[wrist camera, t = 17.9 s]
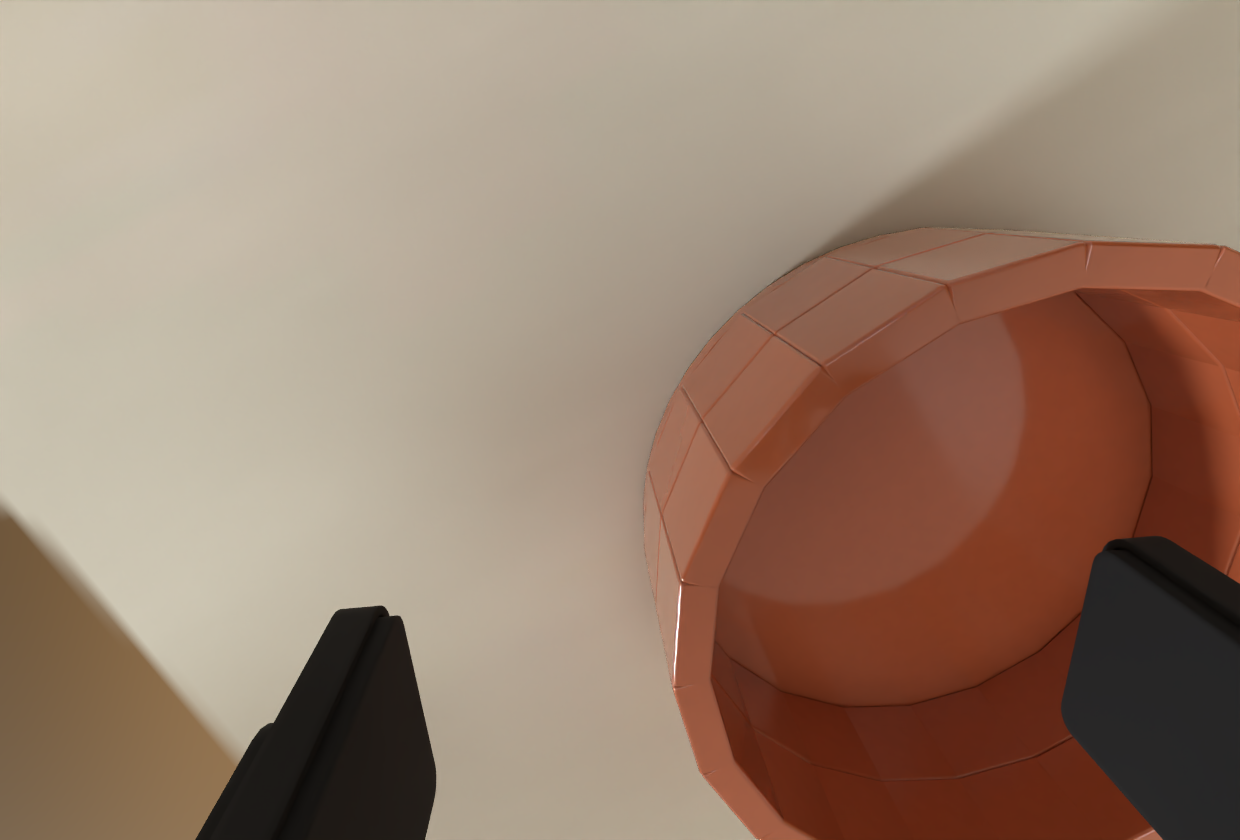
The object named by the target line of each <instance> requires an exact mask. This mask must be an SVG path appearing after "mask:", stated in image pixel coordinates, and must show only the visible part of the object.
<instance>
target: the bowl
mask: <svg viewBox="0 0 1240 840" xmlns="http://www.w3.org/2000/svg"><path fill="white" fill-rule="evenodd" d="M643 513H644V534H645V537H644V549H645V556H646V561H647V566H648V571H649V576H650V581H651V586H652V591H653V595H654V600H655V605H656V609H657V615H658V620H659V625H660V630H661V635H662V640H663V645H664V650H665V654H666V659H667V664H668V669H669V674H670V679H671V684H672V689H673V692H674V695H675V698H676V701H677V704H678V707H679V710H680V713H681V716H682V719H683V723H684V726H685V729H686V732H687V735H688V738H689V741H690V744H691V747H692V750H693V753H694V756H695V759H696V763H697V766H698V769H699V771H700V773H701V774H702V776H703V777H704V778H705V779H706V781H707V782H708V783H709V784H710V785H711V786H712V788H713V789H714V790H715V791H716V792H717V793H718V795H719V796H720V797H721V798H722V799H723V800H724V802H725V803H726V804H727V805H728V806H729V808H730V809H731V810H732V811H733V812H734V813H735V815H736V816H737V817H738V818H739V819H740V820H741V822H742V823H743V824H744V825H745V826H746V827H747V829H748V830H749V831H750V832H751V833H752V834H753V836H754V837H755V838H756V839H759V840H1163V839H1162V838H1161V837H1160V836H1159V835H1158V833H1157V832H1156V831H1155V830H1154V829H1153V828H1152V827H1151V825H1150V824H1149V823H1148V822H1147V821H1146V820H1145V819H1144V817H1143V816H1142V815H1141V814H1140V813H1139V812H1138V811H1137V809H1136V808H1135V807H1134V806H1133V805H1132V804H1131V803H1130V801H1129V800H1128V799H1127V798H1126V797H1125V796H1124V794H1123V793H1122V792H1121V791H1120V790H1119V789H1118V788H1117V786H1116V785H1115V784H1114V783H1113V782H1112V781H1111V780H1110V778H1109V777H1108V776H1107V775H1106V774H1105V773H1104V772H1103V770H1102V769H1101V768H1100V767H1099V766H1098V765H1097V764H1096V762H1095V761H1094V760H1093V759H1092V758H1091V757H1090V756H1089V754H1088V753H1087V752H1086V751H1085V750H1084V749H1083V748H1082V746H1081V745H1080V744H1079V743H1078V742H1077V741H1076V739H1075V738H1074V737H1073V736H1072V735H1071V733H1070V732H1069V731H1068V729H1067V727H1066V725H1065V723H1064V720H1063V717H1062V713H1061V702H1062V697H1063V693H1064V688H1065V684H1066V680H1067V675H1068V671H1069V666H1070V662H1071V657H1072V653H1073V648H1074V644H1075V639H1076V635H1077V630H1078V626H1079V621H1080V617H1081V613H1082V608H1083V604H1084V599H1085V595H1086V590H1087V586H1088V581H1089V577H1090V572H1091V568H1092V563H1093V560H1094V558H1095V556H1096V555H1097V554H1098V553H1100V552H1102V550H1103V548H1104V546H1105V545H1106V544H1107V543H1108V542H1109V541H1112V540H1115V539H1123V538H1134V537H1145V536H1162V537H1164V538H1167V539H1169V540H1171V541H1172V542H1174V543H1176V544H1177V545H1179V546H1180V547H1182V548H1184V549H1185V550H1187V551H1188V552H1190V553H1192V554H1193V555H1195V556H1196V557H1198V558H1200V559H1201V560H1203V561H1204V562H1206V563H1208V564H1209V565H1211V566H1212V567H1214V568H1216V569H1217V570H1219V571H1220V572H1222V573H1224V574H1225V575H1227V576H1228V577H1230V578H1232V579H1233V580H1235V581H1236V582H1238V583H1240V252H1238V251H1236V250H1234V249H1231V248H1229V247H1227V246H1221V245H1216V244H1207V243H1193V242H1178V241H1164V240H1150V239H1135V238H1121V237H1107V236H1092V235H1078V234H1063V233H1049V232H1035V231H1020V230H999V229H968V228H956V227H951V228H938V227H925V228H916V229H912V230H906V231H901V232H895V233H889V234H884V235H878V236H874V237H871V238H868V239H865V240H862V241H859V242H855V243H852V244H849V245H846V246H843V247H840V248H837V249H835V250H833V251H831V252H829V253H827V254H824V255H822V256H820V257H818V258H816V259H813V260H811V261H809V262H807V263H805V264H803V265H801V266H800V267H798V268H796V269H795V270H793V271H791V272H790V273H788V274H787V275H785V276H783V277H782V278H780V279H779V280H777V281H775V282H774V283H772V284H771V285H769V286H768V287H766V288H765V289H764V290H763V291H761V292H760V293H759V294H758V295H757V296H755V297H754V298H753V299H752V300H750V301H749V302H748V303H747V304H745V305H744V306H743V307H742V308H740V309H739V310H738V311H737V312H736V313H735V314H734V315H733V316H732V317H731V318H730V319H729V320H728V321H727V322H726V323H725V324H724V325H723V326H722V327H721V328H720V329H719V331H718V332H717V333H716V334H715V335H714V336H713V337H712V338H711V339H710V340H709V341H708V343H707V344H706V345H705V347H704V348H703V349H702V351H701V352H700V353H699V355H698V356H697V357H696V359H695V360H694V361H693V363H692V364H691V365H690V367H689V368H688V369H687V371H686V373H685V375H684V376H683V378H682V380H681V382H680V383H679V385H678V387H677V389H676V390H675V392H674V394H673V396H672V397H671V399H670V401H669V403H668V406H667V408H666V410H665V413H664V415H663V418H662V420H661V423H660V425H659V427H658V430H657V432H656V435H655V439H654V443H653V447H652V450H651V454H650V458H649V462H648V466H647V472H646V480H645V489H644V497H643Z"/></svg>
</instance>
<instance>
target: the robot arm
mask: <svg viewBox="0 0 1240 840" xmlns="http://www.w3.org/2000/svg"><path fill="white" fill-rule="evenodd" d="M1061 713H1062V717H1063V720H1064V723H1065V725H1066V727H1067V729H1068V731H1069V732H1070V733H1071V735H1072V736H1073V737H1074V738H1075V739H1076V741H1077V742H1078V743H1079V744H1080V745H1081V746H1082V748H1083V749H1084V750H1085V751H1086V752H1087V753H1088V754H1089V756H1090V757H1091V758H1092V759H1093V760H1094V761H1095V762H1096V764H1097V765H1098V766H1099V767H1100V768H1101V769H1102V770H1103V772H1104V773H1105V774H1106V775H1107V776H1108V777H1109V778H1110V780H1111V781H1112V782H1113V783H1114V784H1115V785H1116V786H1117V788H1118V789H1119V790H1120V791H1121V792H1122V793H1123V794H1124V796H1125V797H1126V798H1127V799H1128V800H1129V801H1130V803H1131V804H1132V805H1133V806H1134V807H1135V808H1136V809H1137V811H1138V812H1139V813H1140V814H1141V815H1142V816H1143V817H1144V819H1145V820H1146V821H1147V822H1148V823H1149V824H1150V825H1151V827H1152V828H1153V829H1154V830H1155V831H1156V832H1157V833H1158V835H1159V836H1160V837H1161V838H1162V839H1163V840H1240V583H1238V582H1236V581H1235V580H1233V579H1232V578H1230V577H1228V576H1227V575H1225V574H1224V573H1222V572H1220V571H1219V570H1217V569H1216V568H1214V567H1212V566H1211V565H1209V564H1208V563H1206V562H1204V561H1203V560H1201V559H1200V558H1198V557H1196V556H1195V555H1193V554H1192V553H1190V552H1188V551H1187V550H1185V549H1184V548H1182V547H1180V546H1179V545H1177V544H1176V543H1174V542H1172V541H1171V540H1169V539H1167V538H1164V537H1162V536H1145V537H1134V538H1123V539H1115V540H1112V541H1109V542H1108V543H1107V544H1106V545H1105V546H1104V548H1103V550H1102V552H1100V553H1098V554H1097V555H1096V556H1095V558H1094V560H1093V563H1092V568H1091V572H1090V577H1089V581H1088V586H1087V590H1086V595H1085V599H1084V604H1083V608H1082V613H1081V617H1080V621H1079V626H1078V630H1077V635H1076V639H1075V644H1074V648H1073V653H1072V657H1071V662H1070V666H1069V671H1068V675H1067V680H1066V684H1065V688H1064V693H1063V697H1062V702H1061ZM435 792H436V768H435V762H434V758H433V753H432V749H431V744H430V740H429V735H428V731H427V726H426V722H425V717H424V713H423V708H422V704H421V699H420V695H419V690H418V686H417V681H416V677H415V673H414V668H413V664H412V659H411V655H410V650H409V646H408V641H407V637H406V632H405V628H404V624H403V621H402V619H401V617H400V616H389V613H388V611H387V609H386V608H385V607H384V606H372V607H361V608H349V609H340V610H338V611H336V612H335V614H334V615H333V616H332V618H331V620H330V622H329V624H328V625H327V627H326V629H325V631H324V633H323V635H322V636H321V638H320V640H319V642H318V644H317V645H316V647H315V649H314V651H313V653H312V654H311V656H310V658H309V660H308V662H307V664H306V665H305V667H304V669H303V671H302V673H301V674H300V676H299V678H298V680H297V682H296V684H295V685H294V687H293V689H292V691H291V693H290V694H289V696H288V698H287V700H286V702H285V703H284V705H283V707H282V709H281V711H280V713H279V714H278V716H277V718H276V720H275V722H274V723H269V724H267V725H266V726H264V727H263V728H262V729H260V731H259V732H258V733H257V735H256V736H255V737H254V739H253V740H252V742H251V743H250V745H249V747H248V749H247V750H246V752H245V754H244V756H243V757H242V759H241V761H240V763H239V764H238V766H237V768H236V770H235V771H234V773H233V775H232V777H231V778H230V780H229V782H228V784H227V785H226V787H225V789H224V791H223V793H222V794H221V796H220V798H219V799H218V801H217V803H216V805H215V806H214V808H213V810H212V812H211V813H210V815H209V817H208V819H207V820H206V822H205V824H204V826H203V827H202V829H201V831H200V833H199V834H198V836H197V838H196V840H425V837H426V833H427V829H428V824H429V820H430V816H431V811H432V807H433V802H434V798H435Z"/></svg>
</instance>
